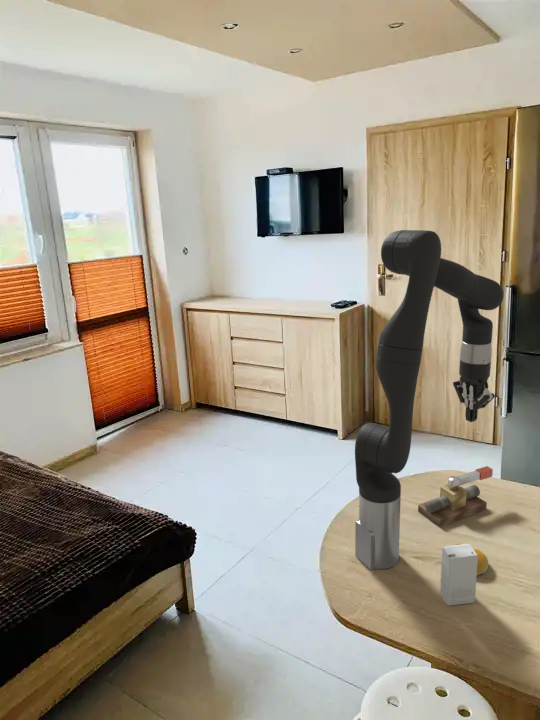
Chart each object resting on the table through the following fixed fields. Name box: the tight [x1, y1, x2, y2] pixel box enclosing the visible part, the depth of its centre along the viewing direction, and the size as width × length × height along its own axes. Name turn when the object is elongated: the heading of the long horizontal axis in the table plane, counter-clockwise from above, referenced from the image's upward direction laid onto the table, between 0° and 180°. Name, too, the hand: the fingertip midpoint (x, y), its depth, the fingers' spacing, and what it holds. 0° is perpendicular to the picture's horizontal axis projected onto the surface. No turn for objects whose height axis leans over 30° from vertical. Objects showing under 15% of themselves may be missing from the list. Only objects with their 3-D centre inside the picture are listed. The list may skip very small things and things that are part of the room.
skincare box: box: [439, 543, 478, 607], centre depth 116 cm, size 6×4×12 cm
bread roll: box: [455, 543, 489, 576], centre depth 128 cm, size 8×9×4 cm
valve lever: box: [447, 465, 494, 489], centre depth 148 cm, size 13×3×2 cm, turn 113°
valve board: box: [417, 483, 488, 528], centre depth 147 cm, size 16×8×7 cm, turn 116°
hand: (471, 420), depth 148 cm, fingers closed
